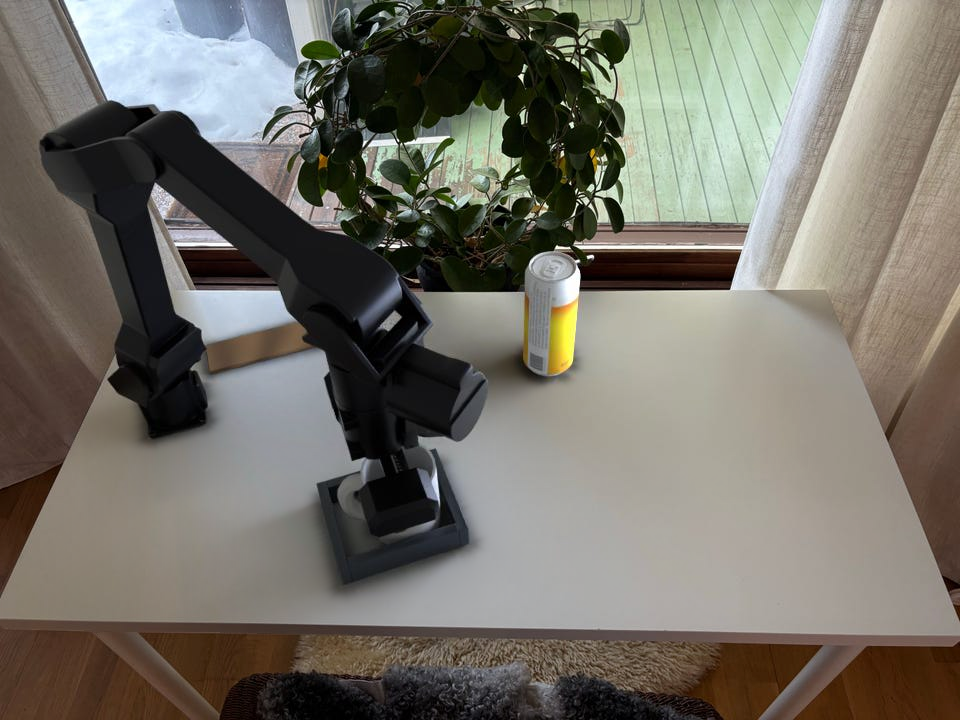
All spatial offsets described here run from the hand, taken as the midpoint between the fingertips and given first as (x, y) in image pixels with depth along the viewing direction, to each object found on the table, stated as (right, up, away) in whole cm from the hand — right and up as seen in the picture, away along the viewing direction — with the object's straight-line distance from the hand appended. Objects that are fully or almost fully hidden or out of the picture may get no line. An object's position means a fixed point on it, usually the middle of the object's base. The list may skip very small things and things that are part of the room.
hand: (387, 493), depth 78 cm
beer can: (+17, +13, +19) cm, 29 cm away
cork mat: (-18, +15, +22) cm, 32 cm away
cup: (0, -4, +4) cm, 5 cm away
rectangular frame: (0, -3, +3) cm, 5 cm away
